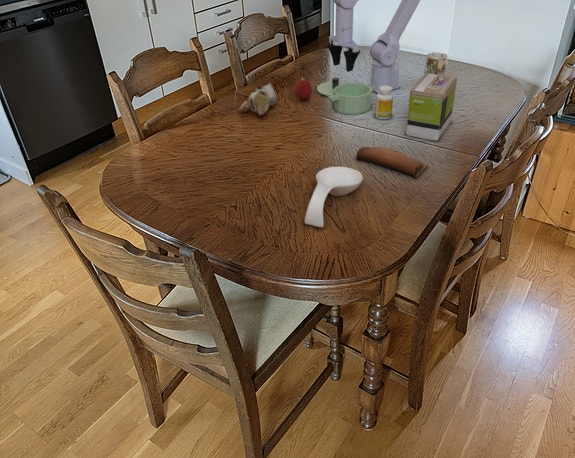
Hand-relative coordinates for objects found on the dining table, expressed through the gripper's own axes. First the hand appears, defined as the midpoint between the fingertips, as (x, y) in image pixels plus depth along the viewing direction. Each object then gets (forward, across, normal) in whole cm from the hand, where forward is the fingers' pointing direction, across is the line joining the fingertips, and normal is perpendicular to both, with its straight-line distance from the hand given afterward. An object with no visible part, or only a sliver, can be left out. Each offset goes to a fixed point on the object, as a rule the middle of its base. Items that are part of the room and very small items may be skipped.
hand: (343, 67), depth 173 cm
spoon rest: (+10, +54, -42) cm, 69 cm away
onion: (+10, -4, -14) cm, 18 cm away
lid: (+9, -4, 0) cm, 10 cm away
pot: (+10, +11, -4) cm, 15 cm away
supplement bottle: (+10, +23, 0) cm, 25 cm away
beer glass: (+10, +22, +22) cm, 32 cm away
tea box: (+10, +38, +5) cm, 40 cm away
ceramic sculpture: (+10, -4, -31) cm, 33 cm away
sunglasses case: (+10, +48, -18) cm, 52 cm away
